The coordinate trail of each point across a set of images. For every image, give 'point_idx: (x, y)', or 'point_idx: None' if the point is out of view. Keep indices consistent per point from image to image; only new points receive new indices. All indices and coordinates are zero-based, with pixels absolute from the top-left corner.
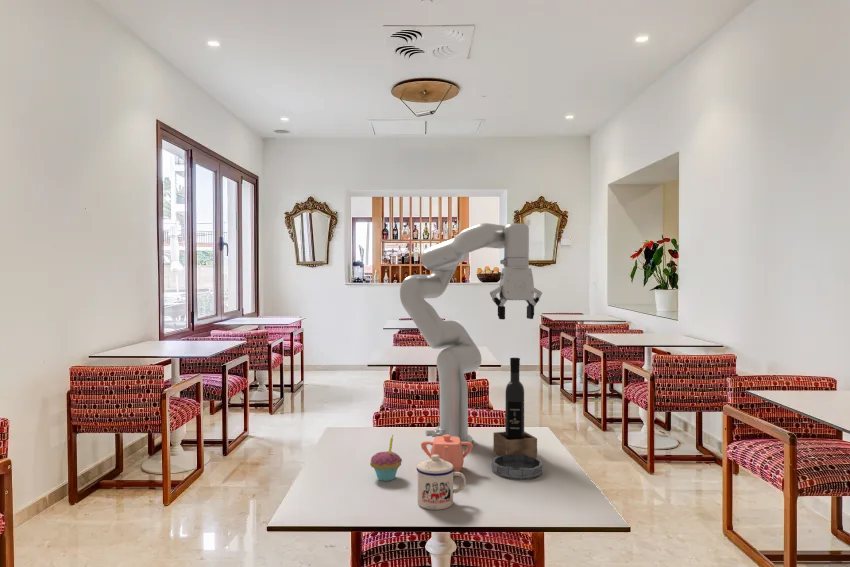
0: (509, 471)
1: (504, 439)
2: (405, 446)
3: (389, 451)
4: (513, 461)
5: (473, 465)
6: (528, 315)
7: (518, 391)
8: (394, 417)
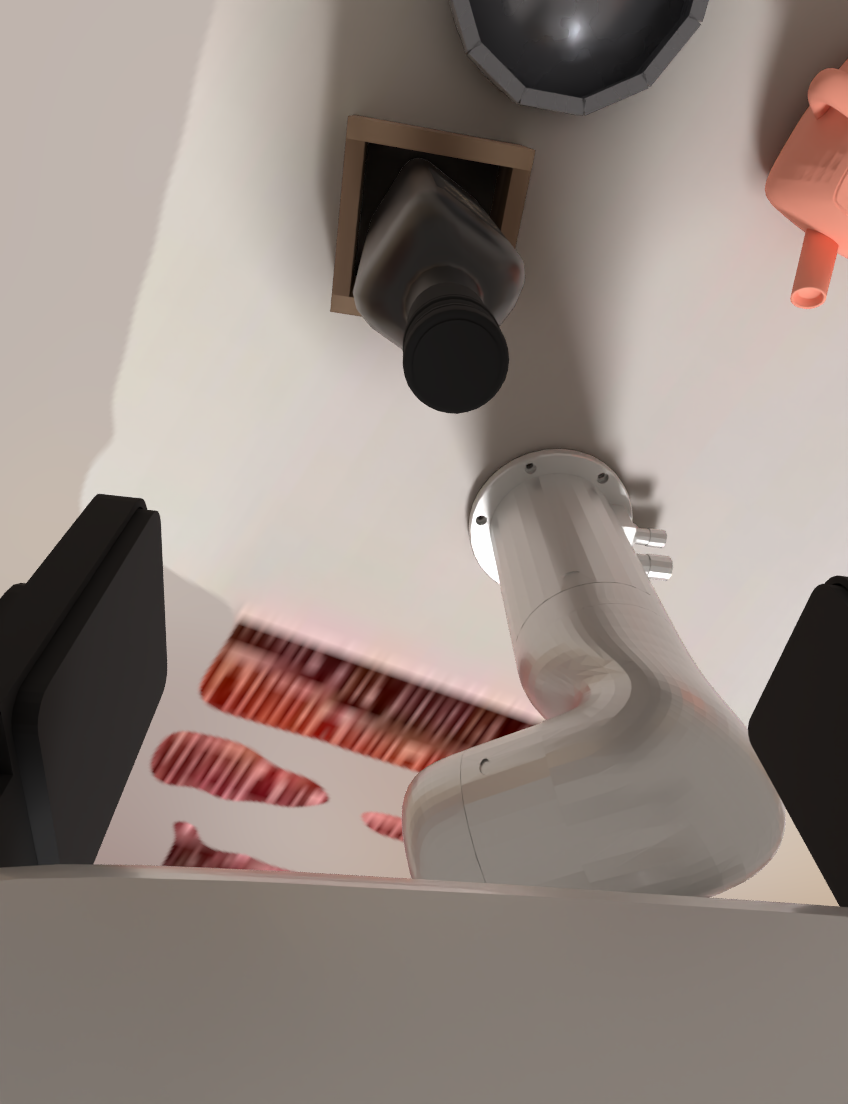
0: None
1: (527, 186)
2: (761, 531)
3: None
4: (531, 69)
5: (698, 161)
6: (146, 654)
7: (460, 208)
8: None
